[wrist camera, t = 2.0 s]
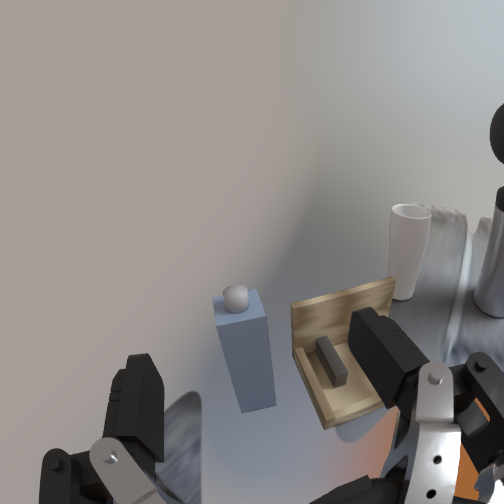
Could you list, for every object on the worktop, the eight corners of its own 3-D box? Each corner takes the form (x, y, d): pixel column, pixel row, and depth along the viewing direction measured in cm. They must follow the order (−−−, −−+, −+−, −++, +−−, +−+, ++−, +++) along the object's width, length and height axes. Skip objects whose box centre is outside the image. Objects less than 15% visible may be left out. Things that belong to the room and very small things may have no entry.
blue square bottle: (268, 380, 31) (254, 274, 24) (276, 405, 27) (264, 300, 20) (236, 387, 30) (209, 283, 23) (241, 413, 27) (212, 311, 20)
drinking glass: (396, 278, 46) (406, 201, 39) (423, 293, 40) (439, 212, 33) (374, 291, 43) (382, 208, 37) (402, 310, 38) (418, 222, 31)
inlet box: (381, 327, 35) (391, 276, 31) (425, 384, 25) (451, 332, 21) (292, 356, 34) (290, 303, 30) (324, 430, 23) (333, 386, 19)
